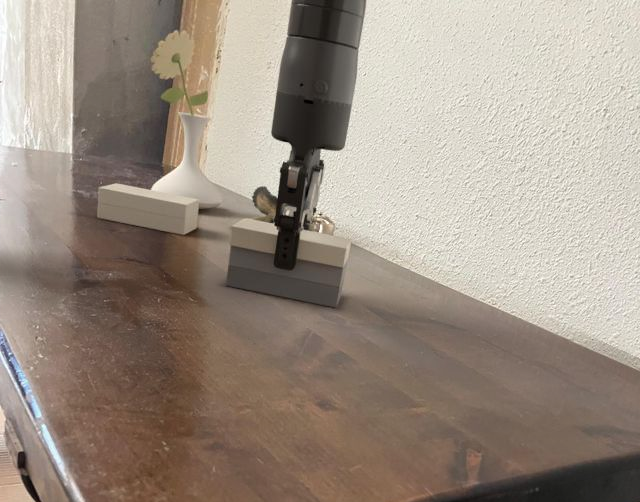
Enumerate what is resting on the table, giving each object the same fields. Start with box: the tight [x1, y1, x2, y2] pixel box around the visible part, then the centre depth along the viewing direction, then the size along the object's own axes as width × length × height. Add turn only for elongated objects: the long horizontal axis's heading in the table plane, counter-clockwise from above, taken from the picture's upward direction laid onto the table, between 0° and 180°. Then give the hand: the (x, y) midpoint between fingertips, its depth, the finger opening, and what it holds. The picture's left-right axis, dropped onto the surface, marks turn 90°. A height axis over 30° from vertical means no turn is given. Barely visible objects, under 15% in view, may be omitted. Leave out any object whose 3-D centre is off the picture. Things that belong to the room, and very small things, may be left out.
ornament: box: [307, 211, 336, 235], centre depth 113 cm, size 8×7×4 cm
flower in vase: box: [150, 29, 223, 210], centre depth 115 cm, size 13×11×25 cm
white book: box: [229, 217, 352, 268], centre depth 79 cm, size 12×6×2 cm, turn 83°
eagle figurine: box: [249, 185, 278, 224], centre depth 108 cm, size 8×7×9 cm
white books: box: [96, 182, 199, 236], centre depth 101 cm, size 12×6×4 cm, turn 83°
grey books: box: [225, 245, 349, 309], centre depth 80 cm, size 12×5×4 cm, turn 83°
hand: (289, 261), depth 80 cm, fingers closed on white book, 6 cm apart
